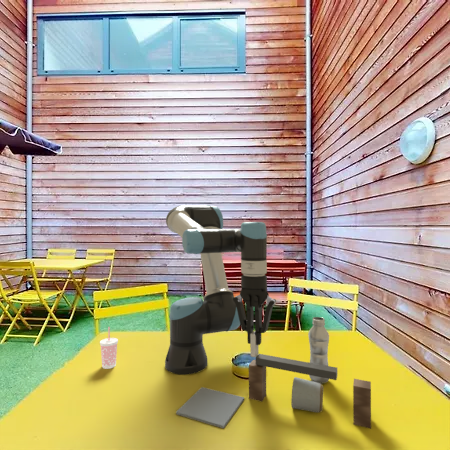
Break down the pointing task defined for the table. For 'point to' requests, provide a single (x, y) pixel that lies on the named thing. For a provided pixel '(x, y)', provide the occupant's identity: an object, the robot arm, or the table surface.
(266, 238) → the robot arm
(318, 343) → the plastic bottle
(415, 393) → the table surface
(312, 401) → the ceramic mug
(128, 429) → the table surface
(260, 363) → the dark grey bar
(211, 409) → the mat
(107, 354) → the beverage cup
